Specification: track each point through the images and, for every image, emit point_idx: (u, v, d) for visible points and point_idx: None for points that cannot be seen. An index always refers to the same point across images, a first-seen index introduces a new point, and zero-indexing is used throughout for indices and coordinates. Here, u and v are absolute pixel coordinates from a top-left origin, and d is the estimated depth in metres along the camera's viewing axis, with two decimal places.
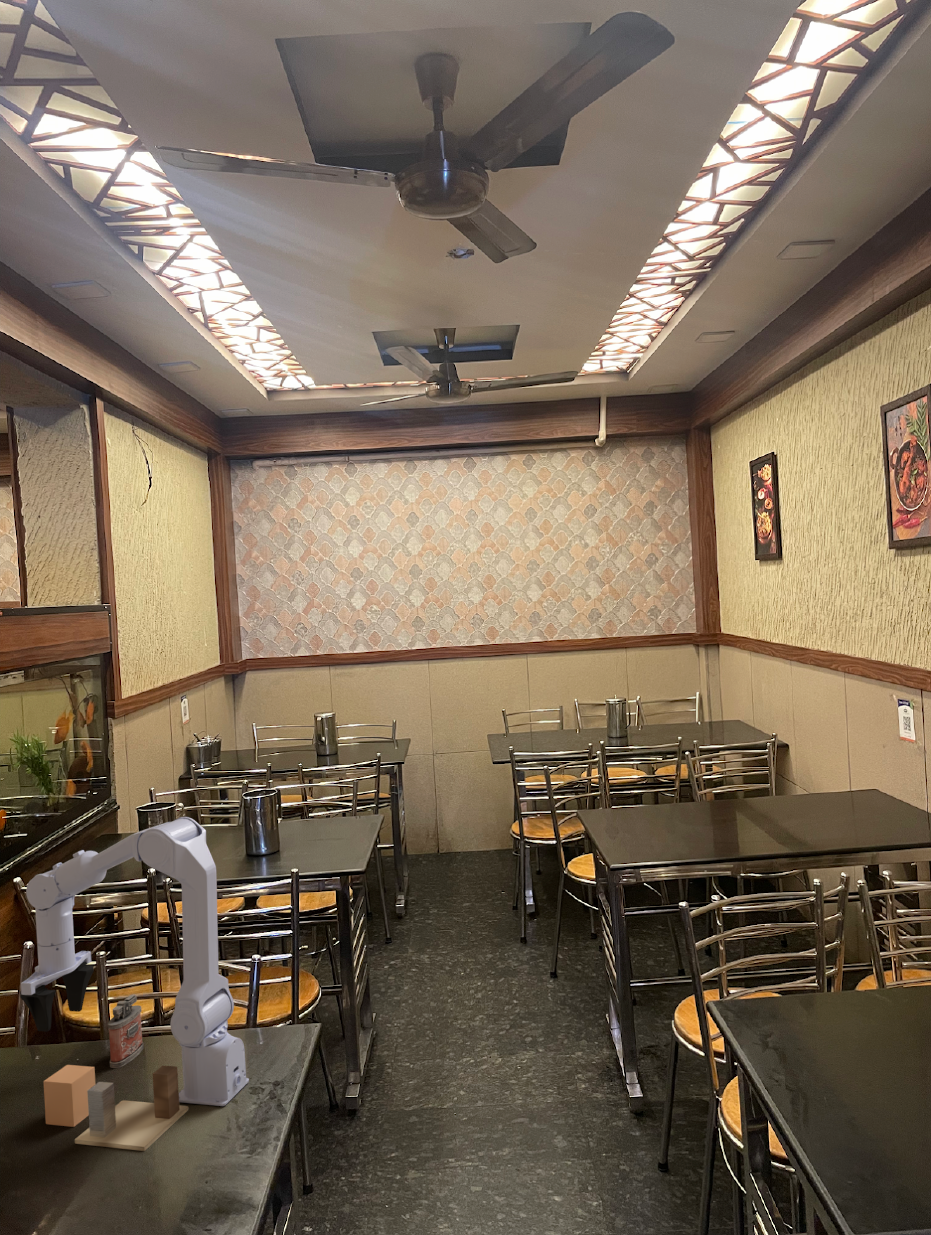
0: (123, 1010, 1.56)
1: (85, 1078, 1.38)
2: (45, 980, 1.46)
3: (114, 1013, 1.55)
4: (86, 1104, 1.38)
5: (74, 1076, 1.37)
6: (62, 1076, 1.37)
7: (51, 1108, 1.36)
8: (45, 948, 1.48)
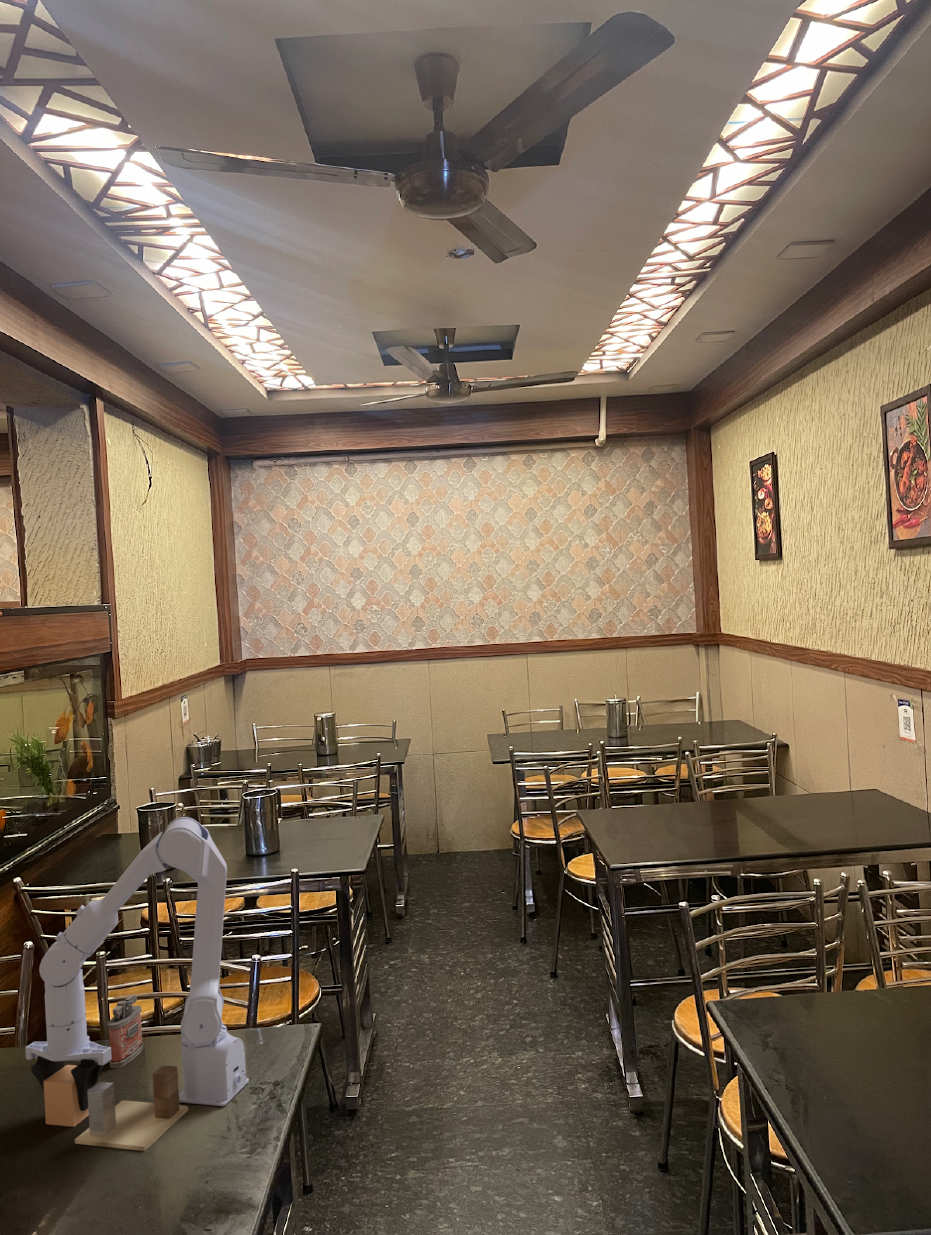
0: (123, 1010, 1.56)
1: None
2: (36, 1053, 1.38)
3: (114, 1013, 1.55)
4: None
5: None
6: (62, 1076, 1.37)
7: (51, 1108, 1.36)
8: None
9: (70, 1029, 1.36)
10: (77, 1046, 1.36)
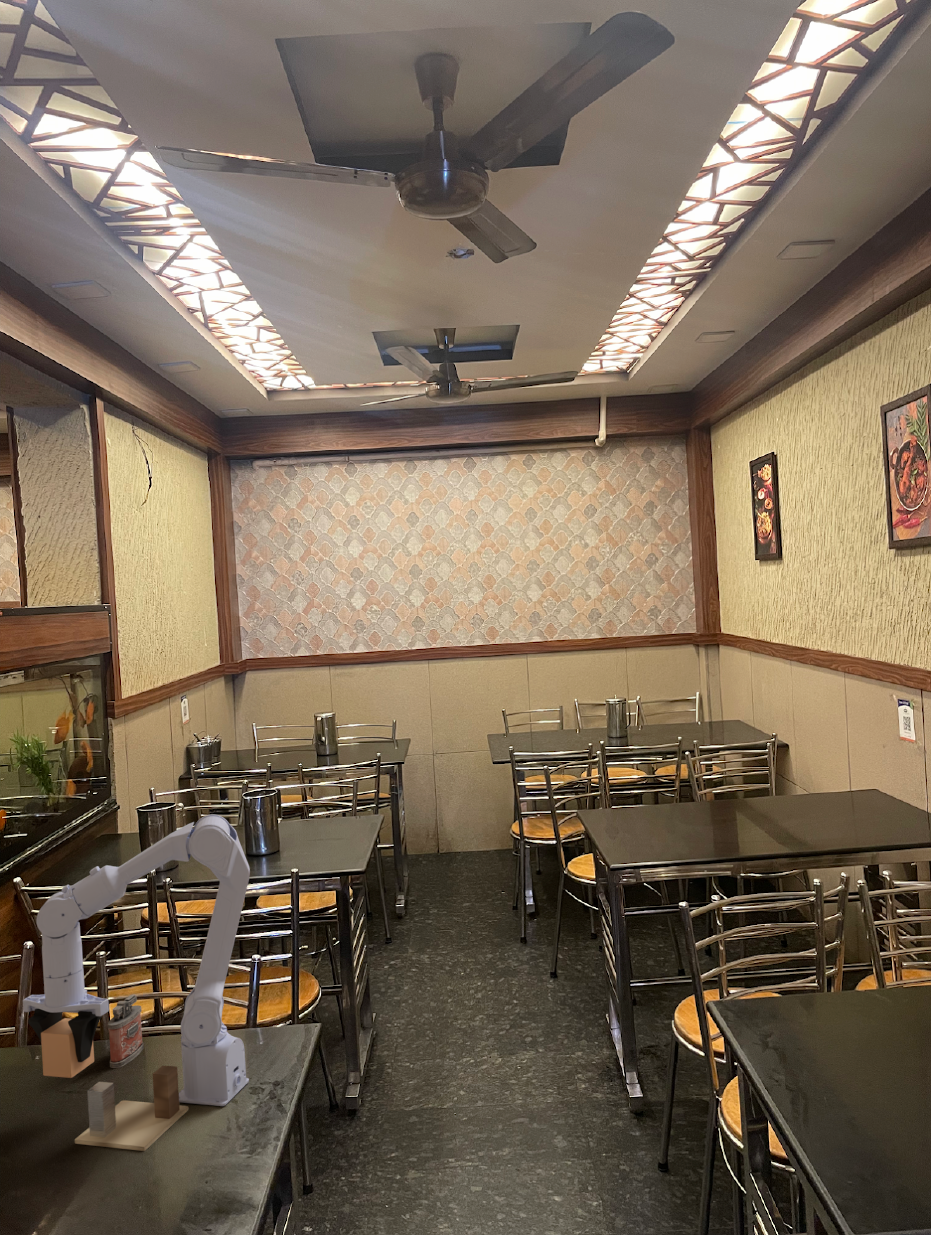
0: (123, 1010, 1.56)
1: None
2: (34, 1005, 1.38)
3: (114, 1013, 1.55)
4: None
5: None
6: (59, 1028, 1.37)
7: (48, 1059, 1.36)
8: None
9: (67, 980, 1.36)
10: (74, 998, 1.37)
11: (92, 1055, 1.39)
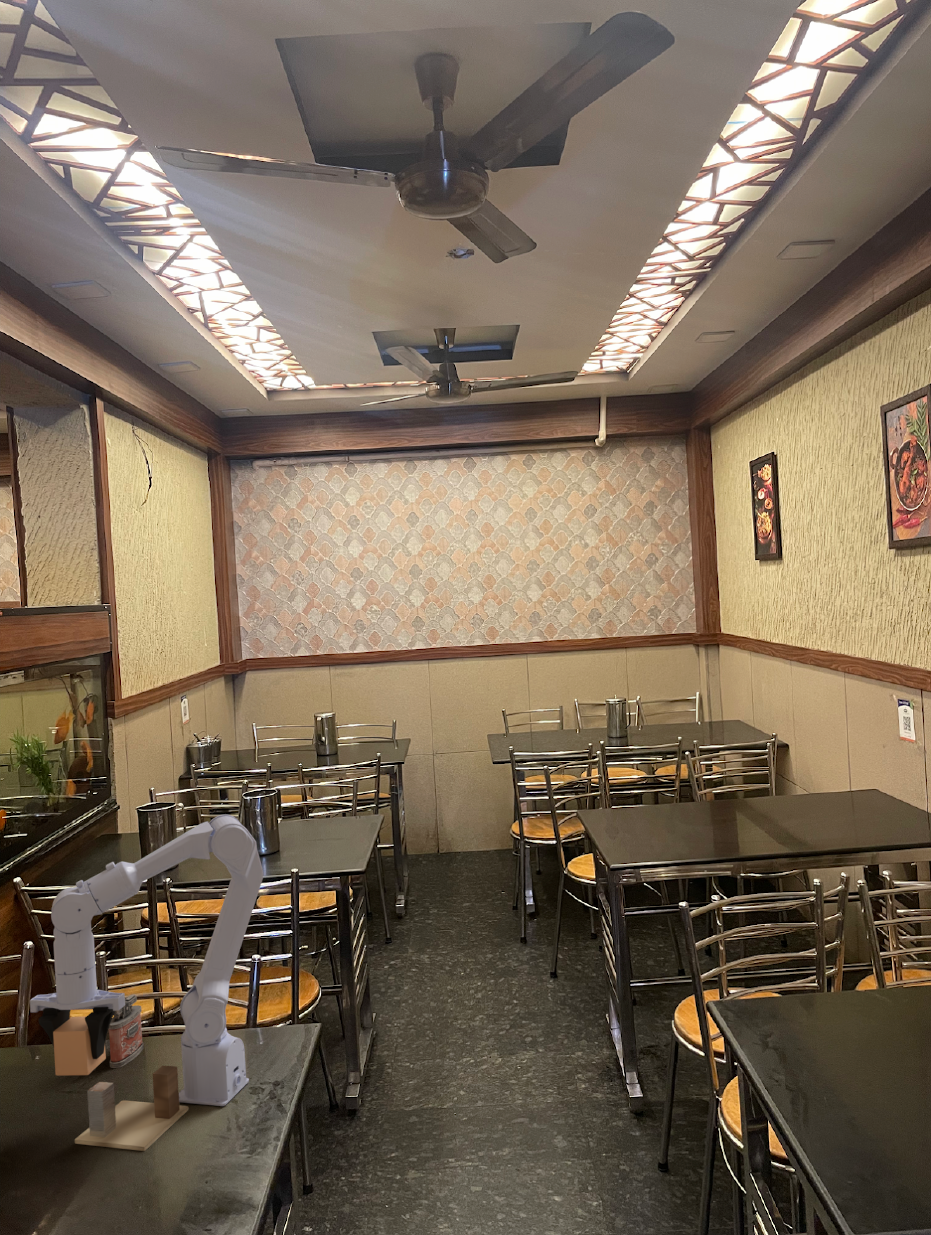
0: (123, 1010, 1.56)
1: None
2: (43, 1004, 1.35)
3: (114, 1013, 1.55)
4: None
5: (85, 1025, 1.35)
6: (72, 1026, 1.35)
7: (62, 1058, 1.33)
8: None
9: (83, 976, 1.34)
10: (89, 994, 1.34)
11: (104, 1052, 1.37)
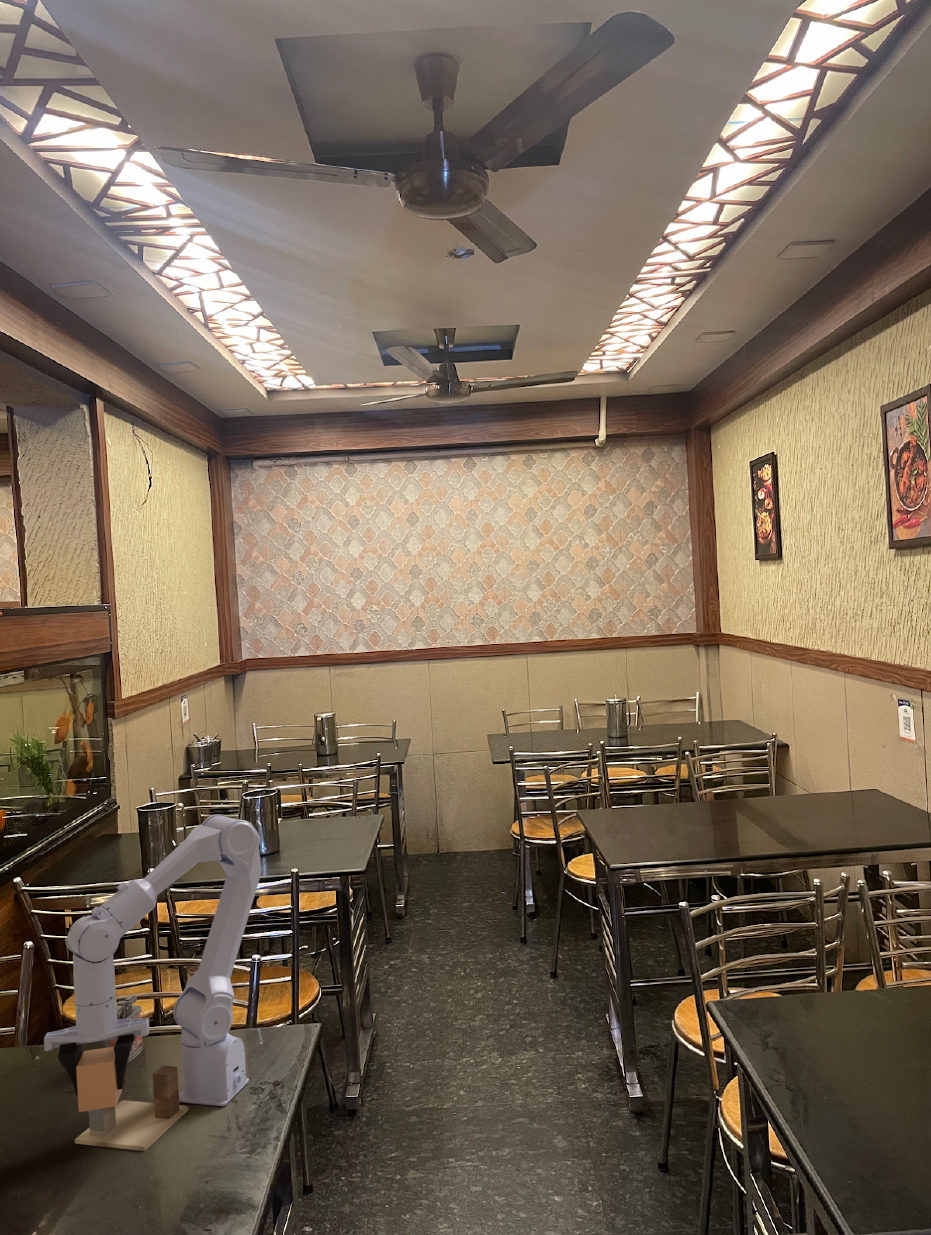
0: (123, 1010, 1.56)
1: None
2: (62, 1040, 1.29)
3: None
4: None
5: (108, 1056, 1.32)
6: (93, 1059, 1.31)
7: (86, 1093, 1.29)
8: None
9: (109, 1005, 1.31)
10: (114, 1023, 1.32)
11: None
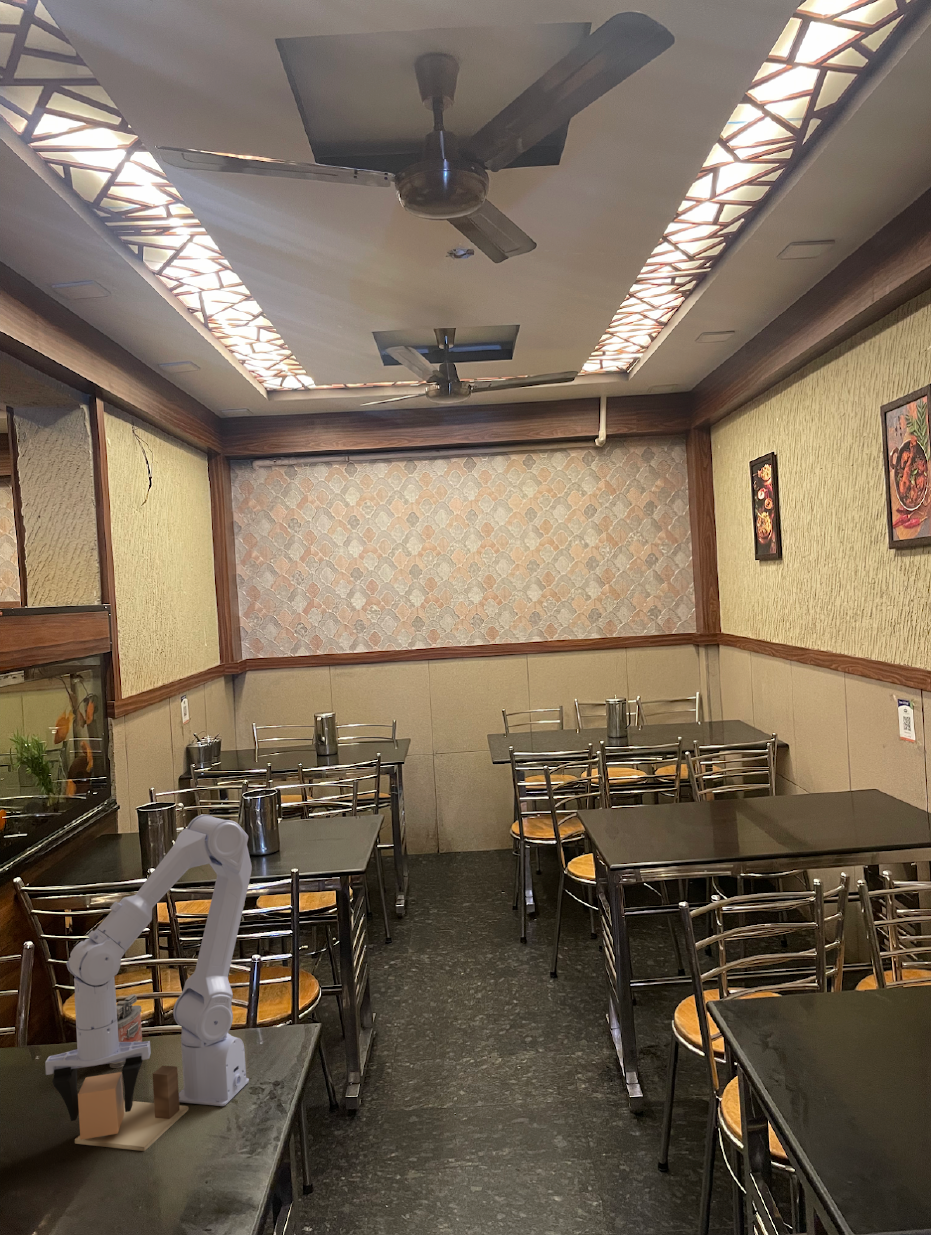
0: (123, 1010, 1.56)
1: (119, 1083, 1.33)
2: (63, 1064, 1.29)
3: None
4: (120, 1110, 1.32)
5: (109, 1083, 1.31)
6: (95, 1086, 1.31)
7: (88, 1121, 1.29)
8: None
9: (110, 1029, 1.31)
10: (115, 1046, 1.31)
11: (123, 1109, 1.34)
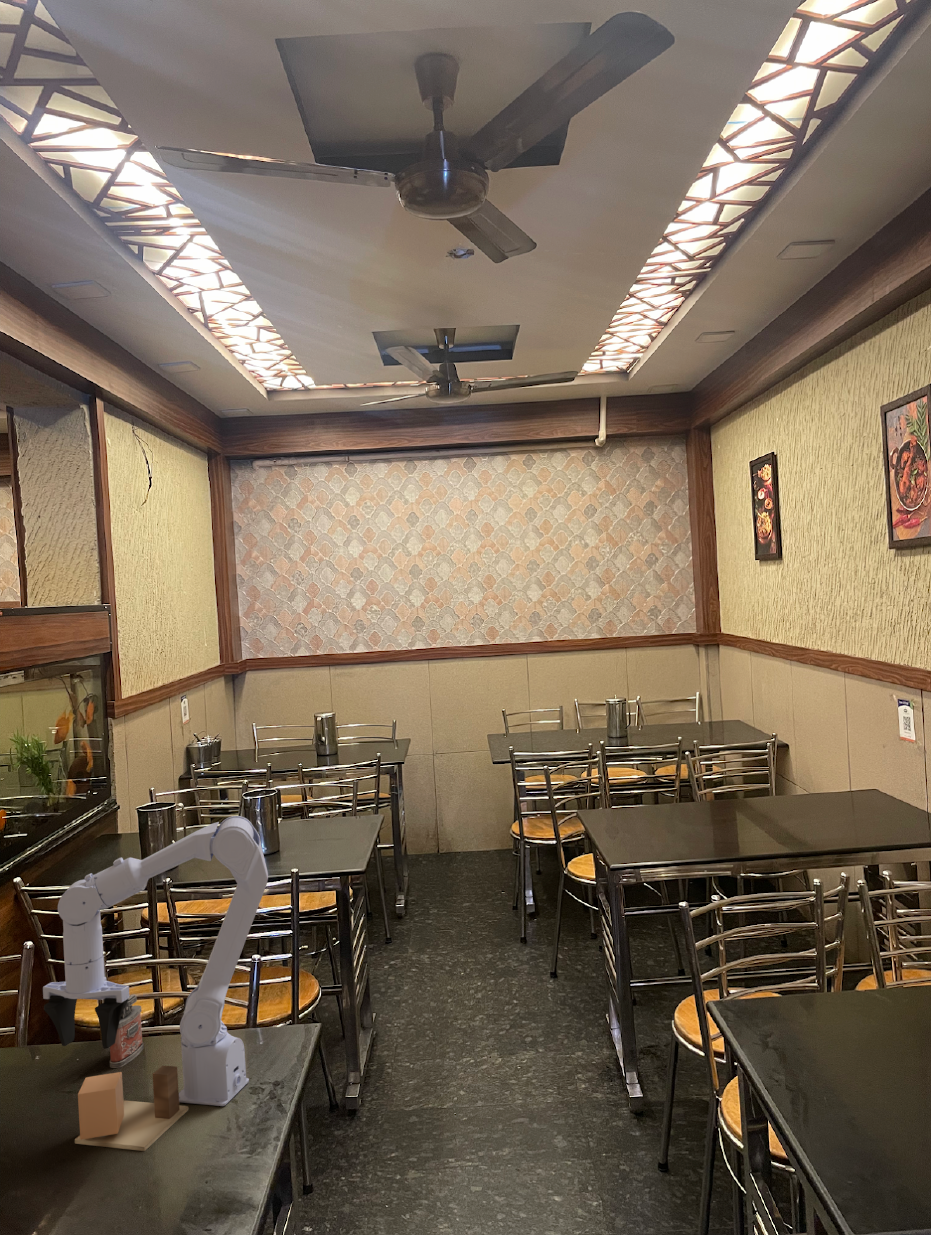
0: (123, 1010, 1.56)
1: (119, 1083, 1.33)
2: (54, 992, 1.39)
3: None
4: (120, 1110, 1.32)
5: (109, 1083, 1.31)
6: (95, 1086, 1.31)
7: (88, 1121, 1.29)
8: None
9: (89, 967, 1.37)
10: (95, 984, 1.38)
11: (123, 1109, 1.34)
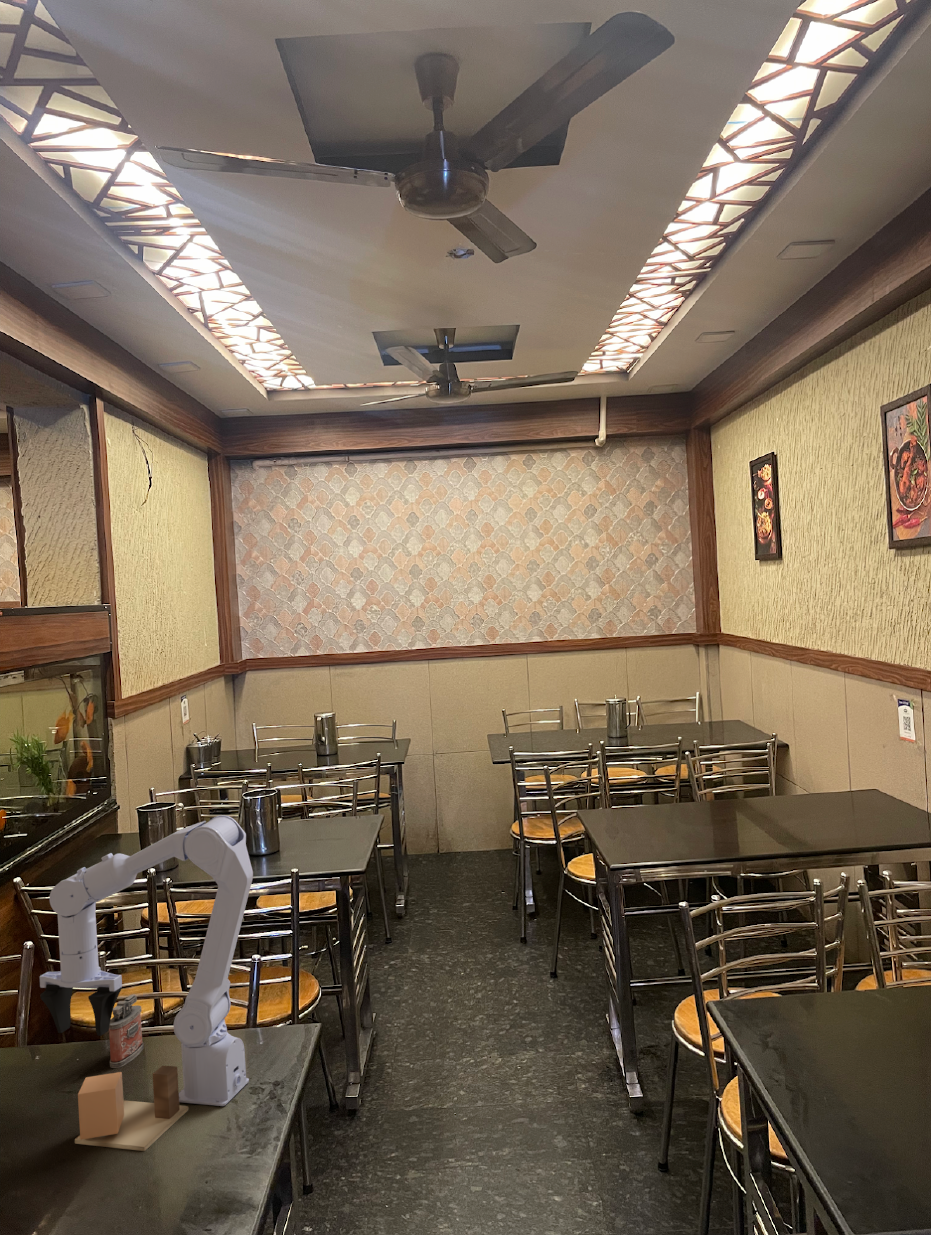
0: (123, 1010, 1.56)
1: (119, 1083, 1.33)
2: (50, 981, 1.44)
3: (114, 1013, 1.55)
4: (120, 1110, 1.32)
5: (109, 1083, 1.31)
6: (95, 1086, 1.31)
7: (88, 1121, 1.29)
8: None
9: (82, 957, 1.42)
10: (89, 974, 1.43)
11: (123, 1109, 1.34)
